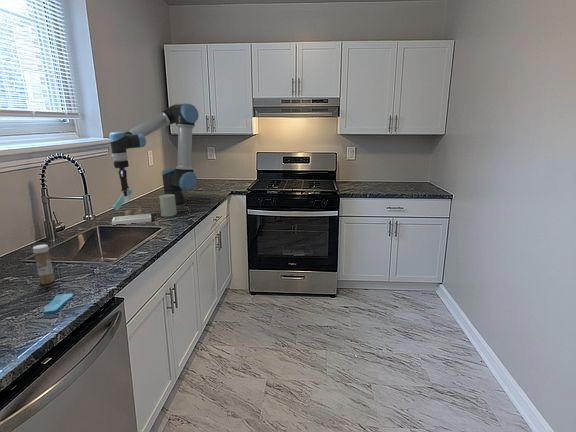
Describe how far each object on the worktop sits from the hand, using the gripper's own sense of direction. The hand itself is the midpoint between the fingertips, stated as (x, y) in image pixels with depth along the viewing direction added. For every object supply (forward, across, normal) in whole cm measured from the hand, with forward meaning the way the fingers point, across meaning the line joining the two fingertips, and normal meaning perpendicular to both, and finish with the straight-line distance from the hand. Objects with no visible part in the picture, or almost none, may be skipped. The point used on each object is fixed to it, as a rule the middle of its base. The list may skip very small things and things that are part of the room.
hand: (127, 200), depth 214 cm
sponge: (+10, +106, -16) cm, 107 cm away
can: (+11, +2, +22) cm, 25 cm away
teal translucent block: (+10, 0, +2) cm, 11 cm away
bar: (0, 0, -1) cm, 1 cm away
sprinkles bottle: (+9, +85, -23) cm, 89 cm away
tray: (+10, +10, +2) cm, 15 cm away
